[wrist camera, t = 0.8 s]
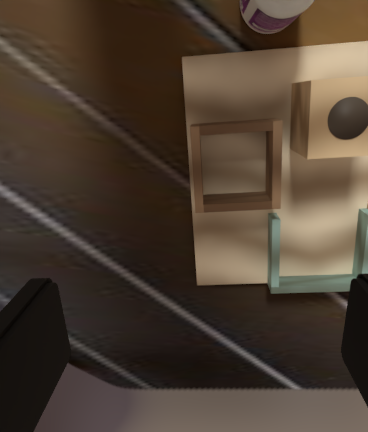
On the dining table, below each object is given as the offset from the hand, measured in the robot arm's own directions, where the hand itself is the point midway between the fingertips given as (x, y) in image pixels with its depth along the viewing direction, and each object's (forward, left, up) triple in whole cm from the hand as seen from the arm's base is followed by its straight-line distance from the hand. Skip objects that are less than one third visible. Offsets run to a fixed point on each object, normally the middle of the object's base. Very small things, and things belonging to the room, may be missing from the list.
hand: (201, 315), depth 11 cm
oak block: (-4, +12, -25) cm, 28 cm away
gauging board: (+2, +8, -26) cm, 27 cm away
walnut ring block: (0, +3, -25) cm, 25 cm away
